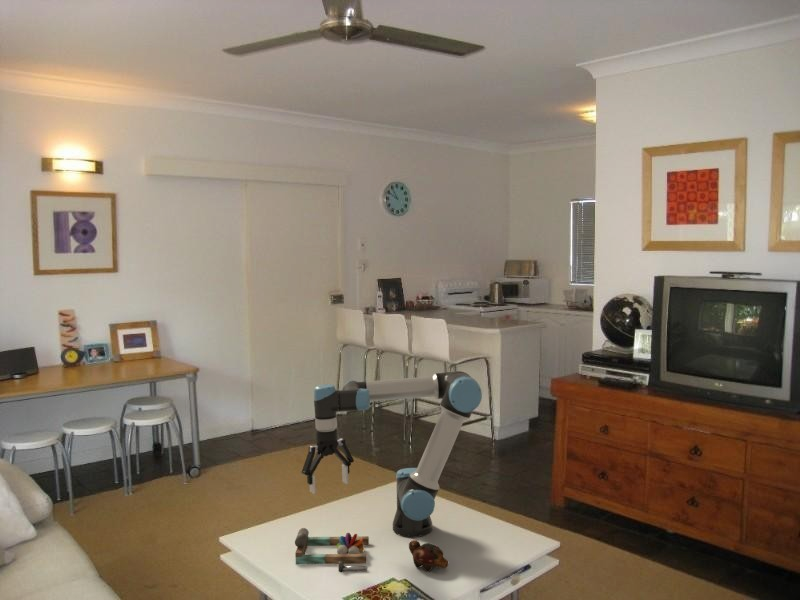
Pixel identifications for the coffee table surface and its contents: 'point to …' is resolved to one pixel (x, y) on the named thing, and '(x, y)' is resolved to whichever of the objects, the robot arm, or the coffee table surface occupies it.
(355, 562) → the bay
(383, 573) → the coffee table surface
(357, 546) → the rainbow sensory ball
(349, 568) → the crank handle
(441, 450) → the robot arm
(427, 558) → the decorative turtle
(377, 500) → the coffee table surface
